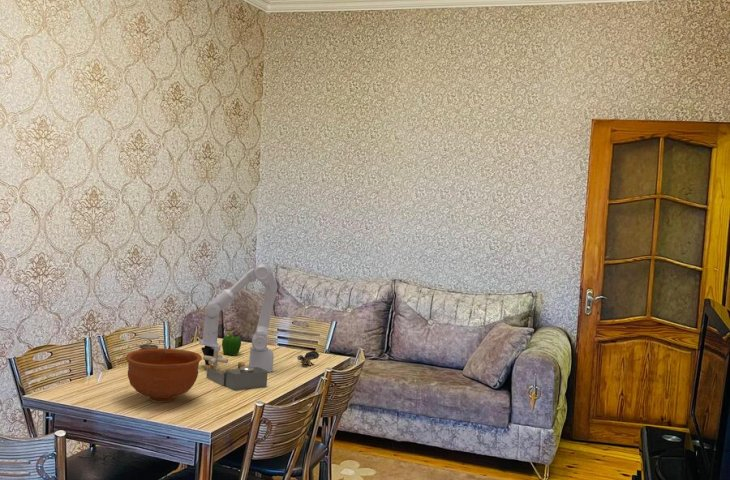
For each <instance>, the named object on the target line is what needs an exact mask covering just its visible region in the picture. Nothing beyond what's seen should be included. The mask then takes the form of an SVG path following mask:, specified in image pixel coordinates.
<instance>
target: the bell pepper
mask: <svg viewBox="0 0 730 480" xmlns="http://www.w3.org/2000/svg"><path fill="white" fill-rule="evenodd" d="M227 335H230V336H227ZM221 347H222V352H223V353H224V355H227V356H229V355H230V356H236V355H238V354H239V352H240V349H241V347H242V339H241V338H240V337H239V336H234V335H233V333H231V332H229V331H227V332H226V336H223V338H222V340H221Z"/></svg>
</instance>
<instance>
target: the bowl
mask: <svg viewBox="0 0 730 480" xmlns="http://www.w3.org/2000/svg"><path fill="white" fill-rule="evenodd" d="M125 360H126V361H127V364H128V365H127V366H128V368H127V369H128V370H127V378H128V380H129V384H130V386H131V387H132V388H133V389H134V390H135V391H136V392H137V393H138V394H140V395H142V396H144V397H146V398H149V400H150V401H152V402H155V403H157V402H158V403H167V402H172V401H174V399H175V398H176V397H181V396H182V395H184V394H186V393H188V392H189V391H190V390H191V389H192V387H193V386H194V385H195V382H196V381H197V378H198V376H199V365H200V362H201V361H202V360H203V357H202V355H201V354H199V353H198V352H196V351H190V350H186V349H178V348H167V349H166V348H159V347H158V348H157V349H144V350H139V349H138V350H134V351H130V352H129V353H127V354H126V355H125Z"/></svg>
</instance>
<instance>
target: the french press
mask: <svg viewBox="0 0 730 480" xmlns="http://www.w3.org/2000/svg"><path fill="white" fill-rule="evenodd" d="M148 311H149V312H150V315H152V313H153V312H154V311H155V309H154V307H149V309H148ZM149 322H150V323H149V329H152V327H151V326H152V325H151V324H152V319H150V321H149ZM138 338H139V339H141V340H148V344H141V345H139V349H138V350H144V349H157V348H159V345H155V344H151V343H150V342H151V341H150V340H158V344H161V342H162V343H163V344H164V346H165V349H168V347H167V344H166V342H165V341H164V340H162V339H160V338H161V335H159V334H158V333H157V332H156V333H155V332H152V331H148V332H147V331H146V332H143V333H141V334H139V335H138Z"/></svg>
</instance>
